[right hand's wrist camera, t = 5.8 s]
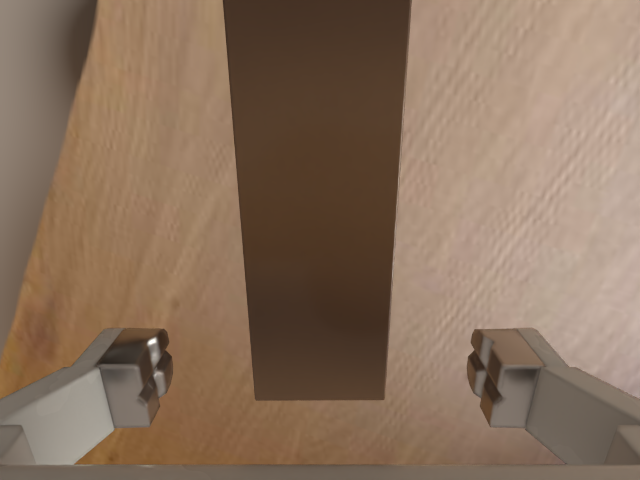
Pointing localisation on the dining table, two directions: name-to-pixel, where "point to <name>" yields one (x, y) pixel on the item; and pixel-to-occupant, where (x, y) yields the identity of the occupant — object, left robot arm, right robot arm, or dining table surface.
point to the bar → (318, 187)
